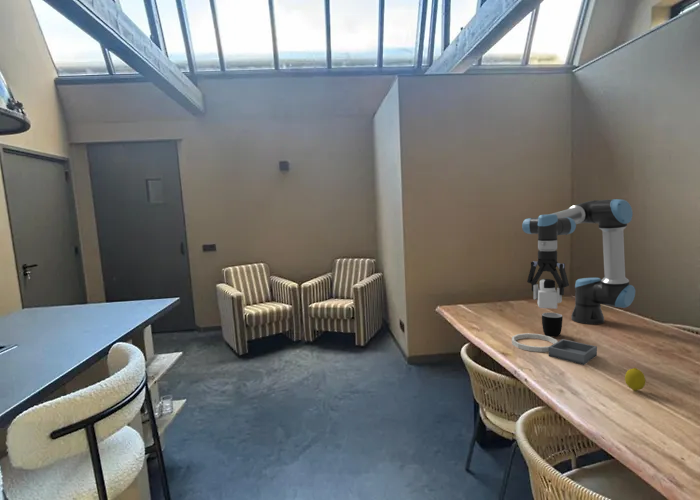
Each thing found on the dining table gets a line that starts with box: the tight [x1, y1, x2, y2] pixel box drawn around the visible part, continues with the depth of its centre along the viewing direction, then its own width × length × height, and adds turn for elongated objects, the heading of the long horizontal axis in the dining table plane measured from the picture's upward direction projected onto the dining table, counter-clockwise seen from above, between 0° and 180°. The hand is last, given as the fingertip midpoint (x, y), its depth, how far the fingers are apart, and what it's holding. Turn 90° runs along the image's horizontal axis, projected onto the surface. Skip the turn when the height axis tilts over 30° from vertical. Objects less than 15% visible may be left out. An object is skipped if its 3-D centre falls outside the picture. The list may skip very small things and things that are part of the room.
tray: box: [548, 338, 598, 366], centre depth 162 cm, size 14×14×4 cm
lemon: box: [624, 367, 646, 392], centre depth 130 cm, size 6×6×8 cm
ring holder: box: [511, 332, 558, 353], centre depth 178 cm, size 19×19×2 cm
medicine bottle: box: [537, 278, 558, 309], centre depth 170 cm, size 7×7×12 cm
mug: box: [541, 312, 563, 338], centre depth 190 cm, size 12×9×10 cm
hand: (547, 300), depth 170 cm, fingers closed on medicine bottle, 9 cm apart
